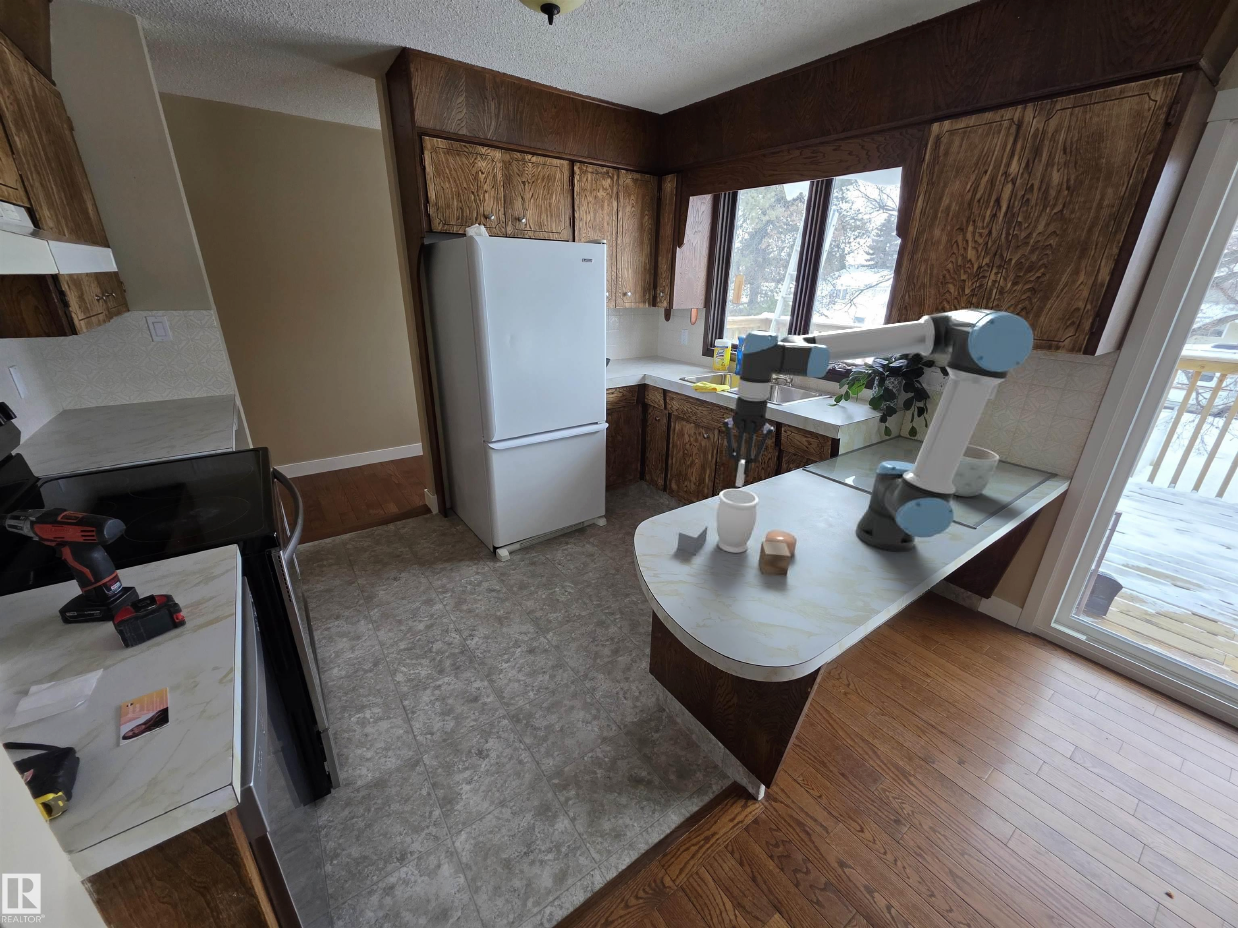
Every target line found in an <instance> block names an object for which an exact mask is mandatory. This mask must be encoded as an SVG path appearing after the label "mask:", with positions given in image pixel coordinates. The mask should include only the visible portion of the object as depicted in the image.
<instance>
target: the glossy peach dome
mask: <svg viewBox="0 0 1238 928" xmlns="http://www.w3.org/2000/svg"><path fill="white" fill-rule="evenodd" d="M764 541H765V542H777V543H786V545H787V548H788V550H789V553H790V555H791V557H790V558H792V557H793V556H794V555H795V551H796V546H797V542H798V541H797V538H796V536H795V535H793V534H791V533H789V532H787V531H784V530H771V531H770V530H769V531H768V532H767V533H766V534H765V539H764Z"/></svg>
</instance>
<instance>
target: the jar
mask: <svg viewBox="0 0 1238 928" xmlns="http://www.w3.org/2000/svg"><path fill="white" fill-rule="evenodd" d="M718 499H719V503H718V506H717V511H716V533H717V536H718V539H717V541H716V544H717V546H718V547H719V548H720V549H721V550H722V551H725V552H728V553H733V554H737V553H743V552H745V551H747V549H748V547H749V546H748V542H749V541H750V539H751V537H752V535H753V531H754V528H755V526H756V525H755V524H756V521H757V506H758V504H759V497H758V496H757V495H756V494H755V493H753V492H751V491H749V490H746V489H745V490H744V489H742V488H729V489H727V488H726V489H723V490H722V491H720V492H719V495H718Z"/></svg>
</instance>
